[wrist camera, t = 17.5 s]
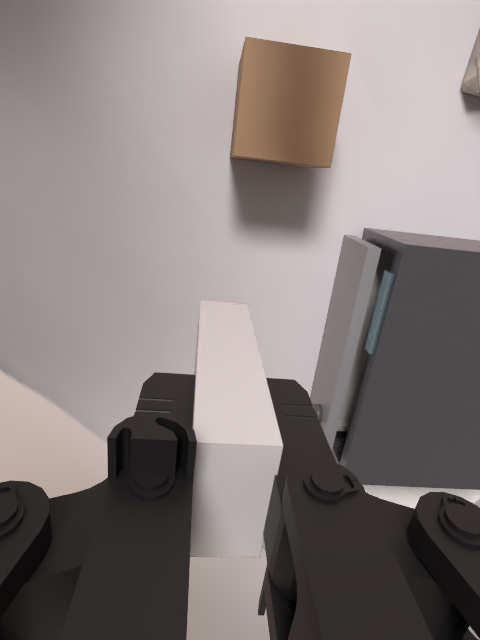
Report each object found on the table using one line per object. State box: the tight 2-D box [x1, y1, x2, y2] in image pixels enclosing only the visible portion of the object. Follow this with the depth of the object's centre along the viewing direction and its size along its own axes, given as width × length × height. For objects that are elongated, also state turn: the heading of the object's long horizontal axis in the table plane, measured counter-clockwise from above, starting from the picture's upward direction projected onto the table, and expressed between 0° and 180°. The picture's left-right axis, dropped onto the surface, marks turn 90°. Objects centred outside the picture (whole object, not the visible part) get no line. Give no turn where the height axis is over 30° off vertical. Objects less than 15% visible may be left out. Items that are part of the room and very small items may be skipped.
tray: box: [310, 235, 393, 451], centre depth 28 cm, size 14×15×4 cm
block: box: [230, 37, 351, 168], centre depth 21 cm, size 5×5×5 cm
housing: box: [332, 228, 480, 490], centre depth 27 cm, size 14×16×6 cm
